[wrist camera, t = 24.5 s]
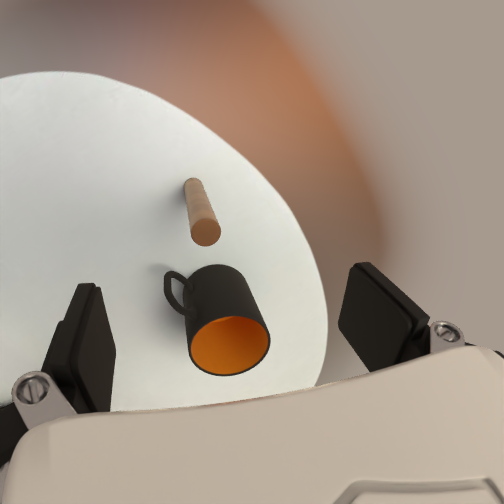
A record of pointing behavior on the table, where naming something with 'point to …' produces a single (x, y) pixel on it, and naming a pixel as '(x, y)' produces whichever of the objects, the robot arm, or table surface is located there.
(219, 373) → the mug
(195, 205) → the stick
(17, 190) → the table surface
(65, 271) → the table surface
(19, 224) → the table surface
